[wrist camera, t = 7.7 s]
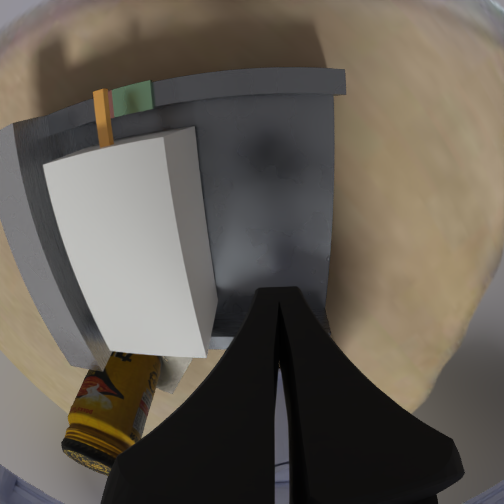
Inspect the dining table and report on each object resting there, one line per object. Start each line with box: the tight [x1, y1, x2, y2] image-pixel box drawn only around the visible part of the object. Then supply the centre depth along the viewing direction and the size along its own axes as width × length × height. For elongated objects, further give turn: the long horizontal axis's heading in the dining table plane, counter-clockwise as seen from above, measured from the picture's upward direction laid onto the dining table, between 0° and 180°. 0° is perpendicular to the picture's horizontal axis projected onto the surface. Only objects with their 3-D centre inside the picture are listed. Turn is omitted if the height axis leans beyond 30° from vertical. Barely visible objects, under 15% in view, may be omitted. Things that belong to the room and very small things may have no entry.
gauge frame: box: [0, 67, 346, 372], centre depth 15 cm, size 16×18×6 cm
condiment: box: [61, 351, 193, 476], centre depth 19 cm, size 7×8×12 cm
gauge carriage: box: [43, 89, 218, 358], centre depth 14 cm, size 14×6×5 cm, turn 4°
